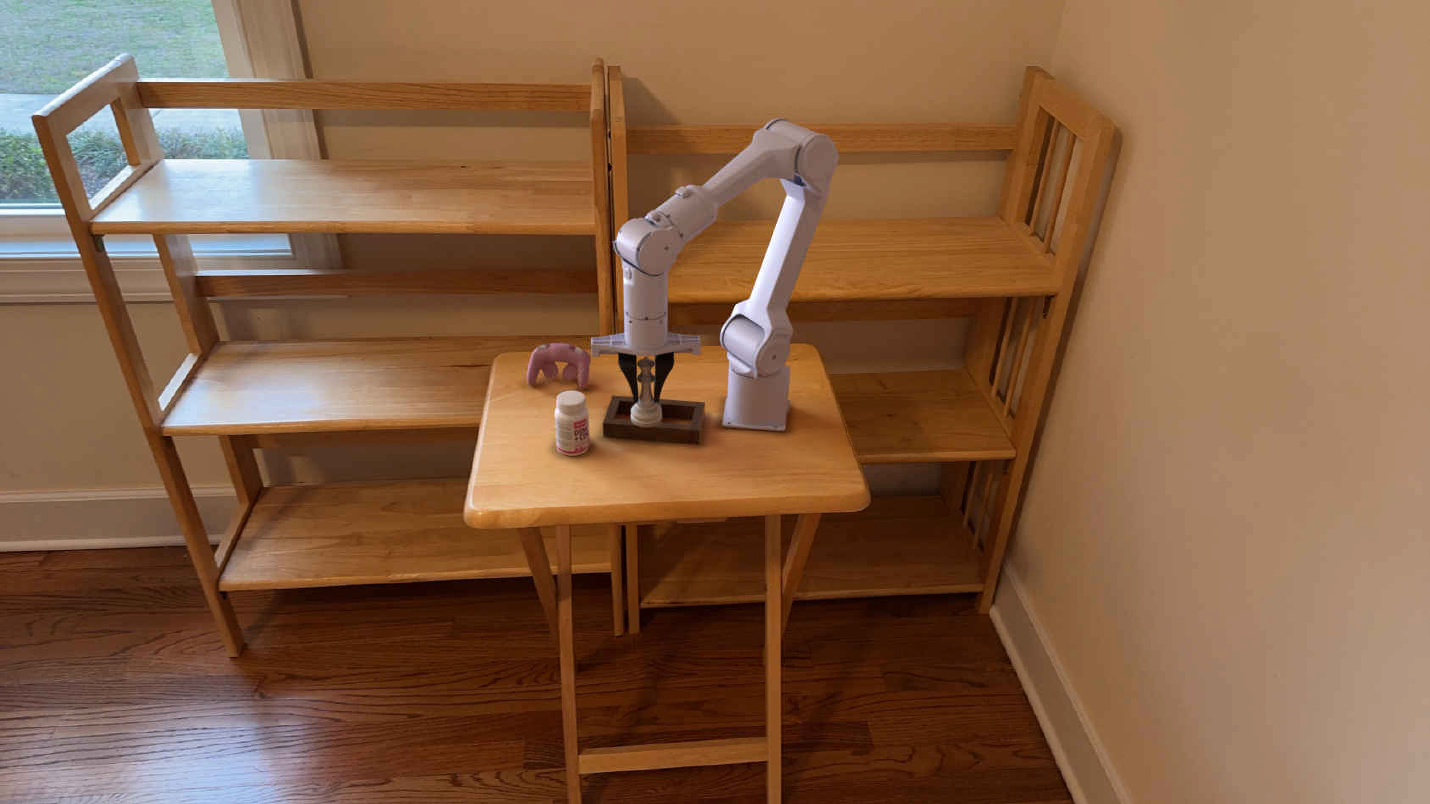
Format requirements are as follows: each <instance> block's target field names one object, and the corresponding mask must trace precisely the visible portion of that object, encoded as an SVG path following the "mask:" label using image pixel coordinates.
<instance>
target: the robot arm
mask: <svg viewBox="0 0 1430 804" xmlns="http://www.w3.org/2000/svg"><path fill="white" fill-rule="evenodd" d="M840 158H841V157H840V154H839V152H838V150H837V147H836V145H835V142H834V141H833V140H832V138H831V137H830V136H828V135H827V134H824V133H819V132H816V131H813V130H811V129H808V128H806V127H803V126H801V125H799V124H796V123H793V122H791V121H790V120H788V119H786V118H783V117H776V118H773V119H771V120H770V121H768V122H767V123H766V124H765V125H764V126H763V127H762V128H760V129H757V130H756V131H755V132H754V134H753V137H752V141H751V143H750V144H749V145H748V146H746V148H745V149H743V150H742V151H741V152H740V153H738V154H737V156H735V157H734V158H733V159H732V160H730V161H729V162H728V163H727V164H726V165H725V166H724V167H722V168H721V169H720V170H719V171H718V172H716V173H715V175H713V176H712V177H711V178H710V179H708V181H706V182H705V183H704V184H703V185H695V184H688V185H686V186H684V185H682V186H680V187H679V188H677V189H676V190H675V194H674V195H673V196H671V197H670V198H669V199H667V200H666V201H665V202H664V203H662V204H661V205H660V206H658V207H657V208H655V209H652V210H651V211H649V212H647V214H646V216H644V217H638V218H637V217H635V218H632V219H630V220H628V221H627V222H625V223H624V224H622V226H621V227H620V229H618V232H617V235H616V239H615V240H613V241H612V245H613V249H614V252H615V253H616V255H617V256H618V257H619V258H620V260H621V269H622V277H623V278H622V282H623V287H622V288H623V320H624V321H623V324H624V325H623V329H624V332H621V333H615V334H610V335H605V336H597V337H595V336H594V337H591V338H590V346H591V347H590V348H591V349H590V351H591V352H590V353H591V357H592V358H599V357H600V356H601V355H617V364H618V367H619V370H620V371H621V372H622V374H623V375H624V378H625V379H626V381H627V383H628V386H629V388H630V392H631V395H632V397H633V402H634V403H639V397H640V395H639V385H638V383H639V382H638V380H637V377H638V365H637V362H638V356H639V357H654V363H655V365H654V376H655V380H654V382H653V398H654V402H659V399H661V393H662V390H663V387H664V385H665V383H666V380H667V378H668V376H669V374H670V373H671V372H672V370H673V368H674V366H675V354H692V356H701V348H702V342H701V341H702V340H701V336H700V335H688V334H681V333H674V332H668V329H669V328H668V326H669V325H668V323H669V322H668V321H669V319H668V318H669V317H668V315H669V314H668V312H669V311H668V309H669V308H668V306H669V301H668V300H669V292H668V291H669V270H671V268H673V266H674V264H675V263H676V260H677V258H678V255H679V253H680V252H682V251H683V248H684V247H685V245H686V244H687V243H689V242H691V241H692V240H693V239H695V237H697V236H698V235H699V234H701V233H702V232H703V231H705V230H706V229H707V228H708V227H710V226H711V225H713V224H714V223H715V222H716V220H717V216H718V210H719V208H721V207H722V206H723V205H725V204H727V203H728V202H730V201H731V200H732V199H735V198H736V197H738V196H739V195H740V194H742V193H744V192H745V191H747V190H748V189H750V188H751V187H753V186H755V185H756V184H758V183H759V182H761V181H762V180H763V179H765V178H770V179H778V180H779V181H780V183H781V186H782V187H783V189H784V191H785V193H786V197H785V199H784V203H783V206H782V208H781V210H780V212H779V213H780V214H779V217H778V219H777V222H776V224H775V228H774V230H773V233H772V236H771V239H770V242H769V245H768V247H767V249H766V252H765V254H764V258H763V261H762V263H761V266H760V269H759V271H758V274H757V277H756V280H755V283H754V285H753V289H752V291H751V294H750V297H749V298H748V299H746V300H743V301H740V302H739V303H736V304H735V305H734V308H733V310H732V313H731V315H730V317H729V318H728V319H727V320H726V321H725V323H724V324H723V326H722V328H721V330H720V334H719V342H720V346H721V347H722V348H723V349H724V350H725V351H726V359H728V377H727V381H728V382H727V397H725V405H724V411H723V417H722V421H721V422H722V423H721V426H722V427H724V428H733V429H734V428H735V429H745V430H746V429H747V430H757V431H758V430H760V431H773V432H786V427H787V415H788V413H789V412H790V405H791V399H789V395H790V394H789V393H790V379H791V366H790V365H786V363H787V362H788V359H789V357H790V351H791V340H792V337H793V334H794V329H793V325H792V324H791V321H790V318H789V316H788V313H787V309H788V305H789V302H790V300H791V297H792V295H793V293H794V289H795V287H796V285H797V281H798V279H799V276H800V273H801V271H802V268H803V266H804V262H805V260H806V257H807V255H808V253H809V249H810V247H811V244H812V241H813V239H814V236H815V233H816V231H817V227H818V225H819V223H820V220H821V217H822V215H823V213H824V212H823V211H824V210H825V206H826V204H827V201H828V199H829V195H830V192H831V191H830V190H831V182H832V179H833V177H834V174H835V172H836V169H837V166H838V163H839V162H840V161H839V160H840Z"/></svg>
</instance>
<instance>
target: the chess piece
mask: <svg viewBox="0 0 1430 804" xmlns="http://www.w3.org/2000/svg"><path fill="white" fill-rule="evenodd" d="M653 367H655V360H653V359H651V358H649V356H643V358H640V359H639V360H637V368H639V370H640V373H639V374H637V382H638V383H640V384H641V385H640V386H641V388H640V393H639V397H640V398H639V403H636V404H635V405H634V406H633V407H632V409H631V415H630V420H631V421H632V422H633V423H634V424H635V425H637V426H640V427H652V426H655V425H657V424H659V423H660V422H662V420H663V418H662V409H661V407H660V406H659V405H658V404H657V403H656V402H654V395H653V392H652V383H654V380H655V374H653V373H652V372H651V371H652V369H653Z"/></svg>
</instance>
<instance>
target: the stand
mask: <svg viewBox="0 0 1430 804" xmlns="http://www.w3.org/2000/svg"><path fill="white" fill-rule="evenodd" d="M639 398H640V396H639ZM656 403H657V404H658V405H659V406H660V407H661V409H662V419H674V420H675V419H676V420H687V421H691V424H686V423H674V422H662V421H661V422H660V423H659V424H657V425H655V426H652V427H640V426H637V425H635V424H634V423H633V422H632V421H631V419H623V418H620V416H621V415H623V416H624V415H625V416H631V409H632V407H633V406H634V405H635V404H636V403H634V402H633V396H628V395H627V396H626V395H611V399H610V401H609V404H608V407H607V410H606V412H605V415H604V419H603V421H602V437H603V438H610V439H622V440H623V439H624V440H625V439H626V440H637V441H649V442H661V443H674V444H687V445H700V443H701V437H702V431H703V427H704V422H705V417H706V402H704V401H695V400H694V401H693V400H682V399H681V400H680V399H679V400H678V399H665V398H660V399H659V402H656Z"/></svg>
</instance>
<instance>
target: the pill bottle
mask: <svg viewBox="0 0 1430 804" xmlns="http://www.w3.org/2000/svg"><path fill="white" fill-rule="evenodd" d="M586 401H587V400H586V396H585V394H584V393H582V392H580V391H578V390H566V391H561V392H560V393H559V394H558V395H557V396H556V408H555V410H554V425H555V426H554V427H555V446H556V449H557V451H558V452H559V453H560V454H562V455H565V456H571V457H575V456H576V457H577V456H579V455H582V454H584V453H586V452H587V451H588V450H589V448H590V421H589V419H590V417H589V409H588V407H587V406H586V405H587V402H586Z"/></svg>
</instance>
